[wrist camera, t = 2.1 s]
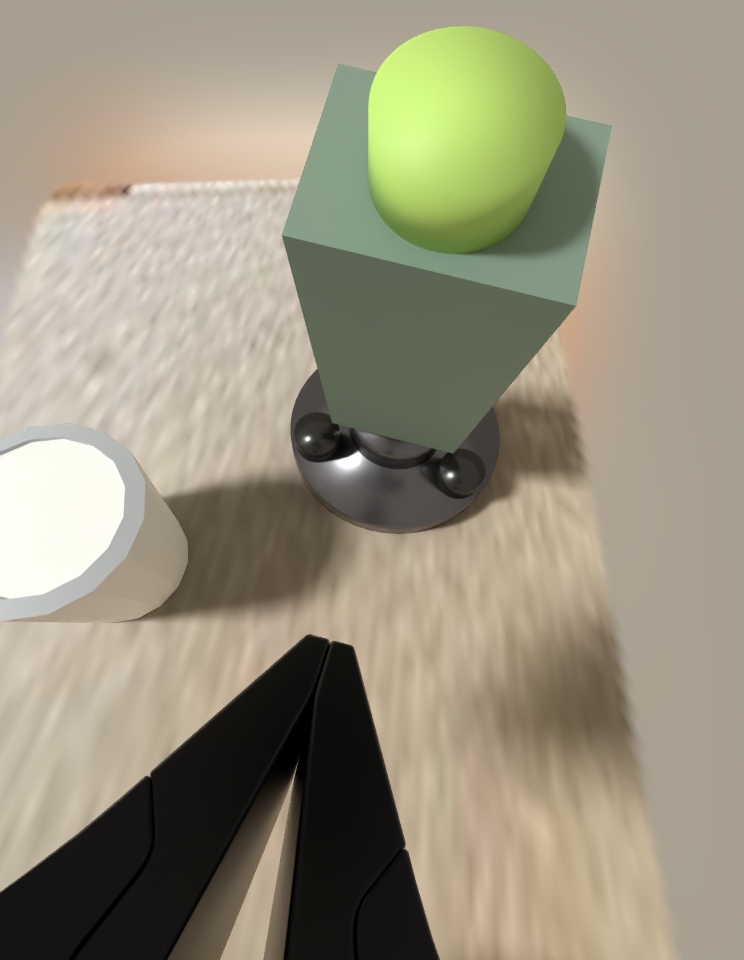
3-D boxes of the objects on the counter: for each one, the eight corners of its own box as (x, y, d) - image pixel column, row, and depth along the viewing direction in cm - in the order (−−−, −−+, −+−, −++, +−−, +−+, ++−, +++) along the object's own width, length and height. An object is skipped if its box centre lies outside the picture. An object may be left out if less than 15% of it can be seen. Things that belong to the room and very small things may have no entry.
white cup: (217, 605, 21) (162, 575, 14) (56, 661, 19) (-84, 656, 13) (186, 475, 23) (127, 399, 17) (41, 517, 22) (-84, 452, 15)
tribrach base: (476, 557, 22) (495, 541, 20) (264, 502, 23) (253, 479, 20) (503, 381, 27) (522, 348, 24) (325, 337, 27) (324, 299, 24)
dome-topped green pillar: (447, 460, 21) (618, 255, 7) (334, 431, 22) (265, 171, 7) (474, 346, 22) (674, -46, 8) (366, 319, 23) (363, -111, 8)
